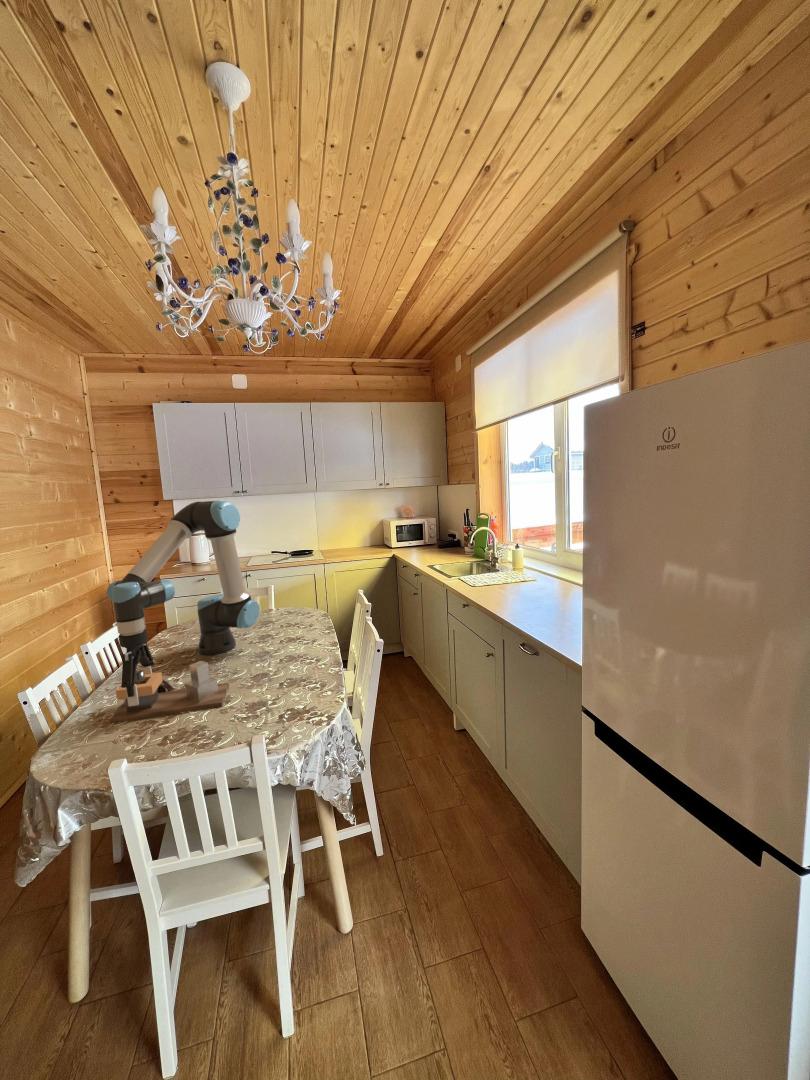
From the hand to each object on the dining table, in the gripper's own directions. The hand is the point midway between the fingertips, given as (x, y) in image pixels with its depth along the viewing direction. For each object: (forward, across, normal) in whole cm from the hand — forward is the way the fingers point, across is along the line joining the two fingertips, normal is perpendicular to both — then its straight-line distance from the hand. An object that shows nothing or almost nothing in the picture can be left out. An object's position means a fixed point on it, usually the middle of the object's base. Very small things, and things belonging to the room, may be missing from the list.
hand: (141, 694), depth 142 cm
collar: (-2, 0, 0) cm, 2 cm away
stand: (+3, 0, 0) cm, 3 cm away
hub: (+3, 0, +18) cm, 18 cm away
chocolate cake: (+5, -13, +1) cm, 14 cm away
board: (+5, 0, +9) cm, 10 cm away
